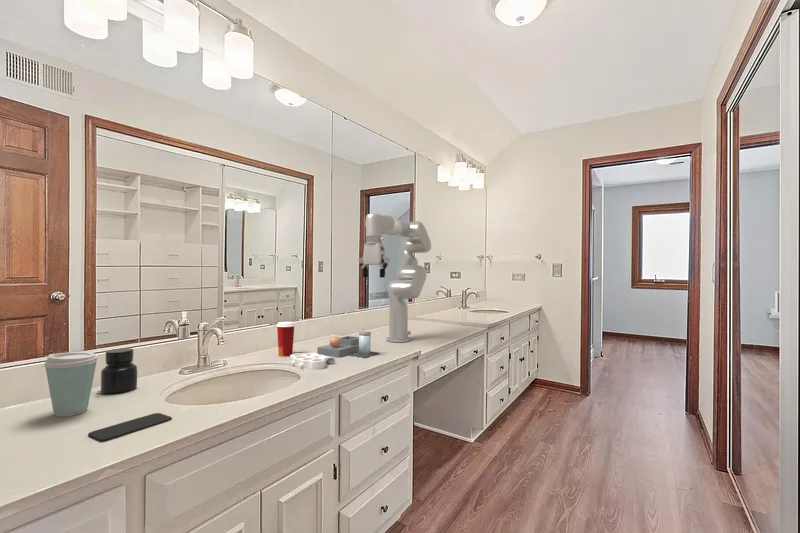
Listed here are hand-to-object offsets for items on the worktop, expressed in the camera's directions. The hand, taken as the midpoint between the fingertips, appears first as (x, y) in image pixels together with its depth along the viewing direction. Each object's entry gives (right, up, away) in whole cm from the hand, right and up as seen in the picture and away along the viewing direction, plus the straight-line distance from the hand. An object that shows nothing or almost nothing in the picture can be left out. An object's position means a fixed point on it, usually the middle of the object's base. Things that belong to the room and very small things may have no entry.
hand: (373, 277), depth 179 cm
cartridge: (-3, -33, -13) cm, 35 cm away
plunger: (-16, -33, -11) cm, 38 cm away
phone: (-50, -33, -90) cm, 108 cm away
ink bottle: (-73, -33, -62) cm, 101 cm away
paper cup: (-37, -33, -14) cm, 52 cm away
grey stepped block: (-13, -33, -6) cm, 36 cm away
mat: (-3, -33, -13) cm, 36 cm away
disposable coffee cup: (-71, -32, -81) cm, 113 cm away
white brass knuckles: (-23, -34, -29) cm, 50 cm away
